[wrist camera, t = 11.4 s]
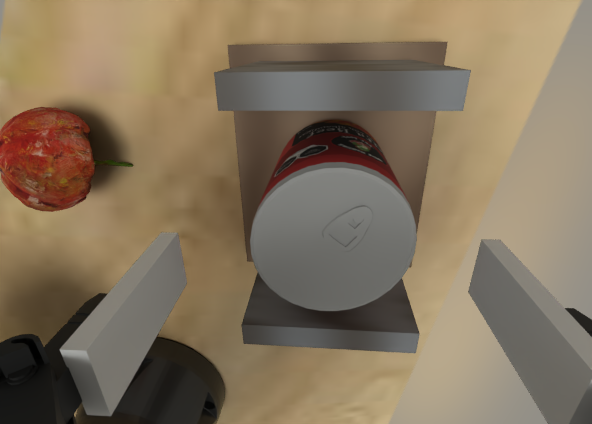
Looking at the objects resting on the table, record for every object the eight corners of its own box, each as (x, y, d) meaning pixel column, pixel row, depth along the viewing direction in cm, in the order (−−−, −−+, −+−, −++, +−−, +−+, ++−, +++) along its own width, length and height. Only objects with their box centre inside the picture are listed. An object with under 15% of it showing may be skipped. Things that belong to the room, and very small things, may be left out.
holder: (250, 252, 31) (212, 353, 21) (233, 44, 24) (161, 45, 14) (407, 257, 30) (448, 367, 20) (440, 41, 23) (533, 39, 12)
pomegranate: (136, 107, 29) (-28, 67, 22) (152, 160, 24) (-44, 131, 18) (117, 175, 32) (-27, 158, 26) (128, 231, 28) (-41, 228, 22)
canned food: (402, 141, 24) (453, 207, 14) (352, 231, 28) (366, 333, 18) (302, 98, 24) (285, 136, 14) (264, 195, 27) (228, 282, 17)
